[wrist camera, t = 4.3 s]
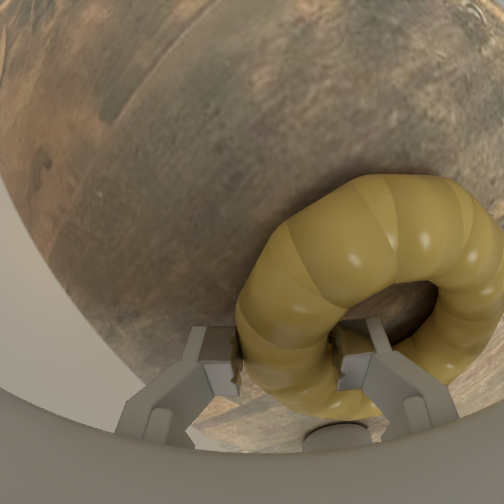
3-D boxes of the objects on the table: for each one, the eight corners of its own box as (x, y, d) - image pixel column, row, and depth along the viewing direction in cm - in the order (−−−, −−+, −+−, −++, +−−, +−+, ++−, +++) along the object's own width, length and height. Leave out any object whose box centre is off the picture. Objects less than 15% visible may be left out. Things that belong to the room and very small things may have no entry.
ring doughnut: (256, 385, 13) (252, 436, 10) (223, 171, 8) (199, 203, 6) (442, 362, 12) (460, 404, 9) (500, 172, 7) (552, 201, 4)
